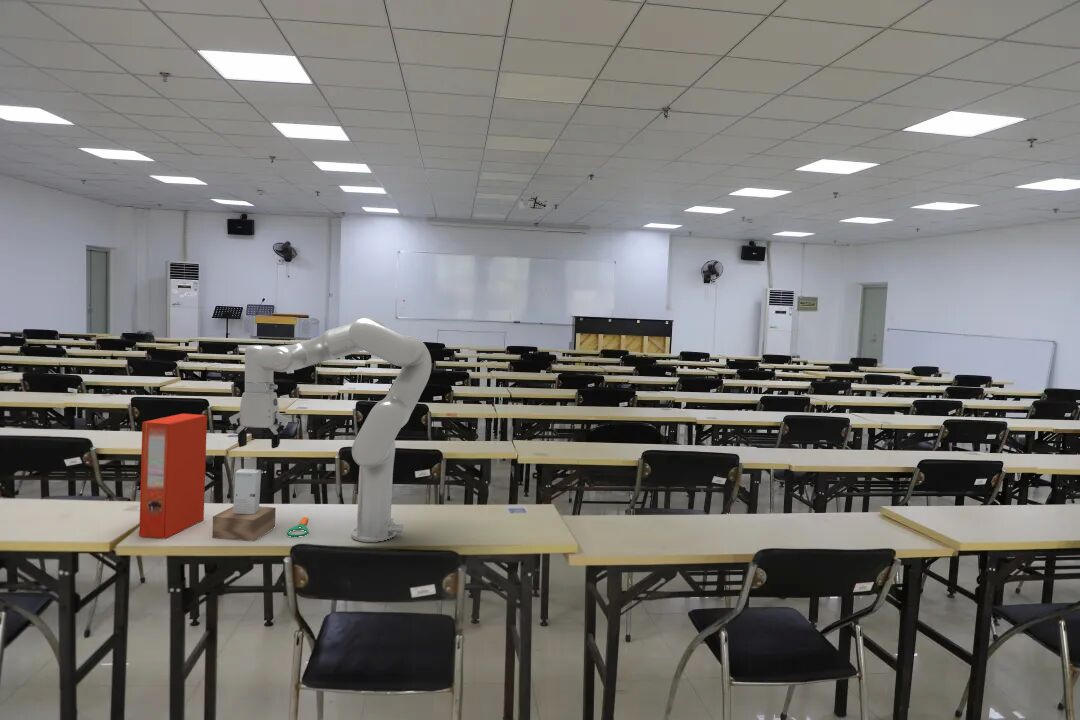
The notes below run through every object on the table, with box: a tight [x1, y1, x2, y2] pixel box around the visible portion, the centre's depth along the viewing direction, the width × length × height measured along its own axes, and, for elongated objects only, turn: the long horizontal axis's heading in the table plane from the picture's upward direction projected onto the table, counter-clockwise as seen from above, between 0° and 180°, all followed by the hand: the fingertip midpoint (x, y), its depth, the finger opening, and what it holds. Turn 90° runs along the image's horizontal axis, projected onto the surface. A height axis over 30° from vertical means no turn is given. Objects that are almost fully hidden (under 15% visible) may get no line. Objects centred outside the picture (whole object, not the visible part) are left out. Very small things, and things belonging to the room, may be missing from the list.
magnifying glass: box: [285, 516, 310, 538], centre depth 190 cm, size 15×6×2 cm, turn 10°
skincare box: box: [232, 468, 262, 514], centre depth 183 cm, size 6×4×12 cm
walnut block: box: [211, 505, 277, 541], centre depth 184 cm, size 12×12×6 cm
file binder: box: [138, 413, 208, 540], centre depth 184 cm, size 8×17×32 cm, turn 176°
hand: (258, 446), depth 185 cm, fingers open, 9 cm apart
